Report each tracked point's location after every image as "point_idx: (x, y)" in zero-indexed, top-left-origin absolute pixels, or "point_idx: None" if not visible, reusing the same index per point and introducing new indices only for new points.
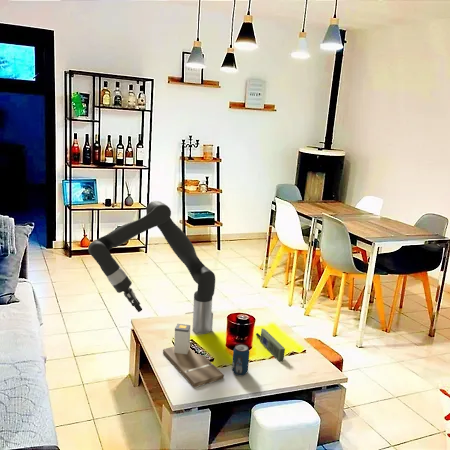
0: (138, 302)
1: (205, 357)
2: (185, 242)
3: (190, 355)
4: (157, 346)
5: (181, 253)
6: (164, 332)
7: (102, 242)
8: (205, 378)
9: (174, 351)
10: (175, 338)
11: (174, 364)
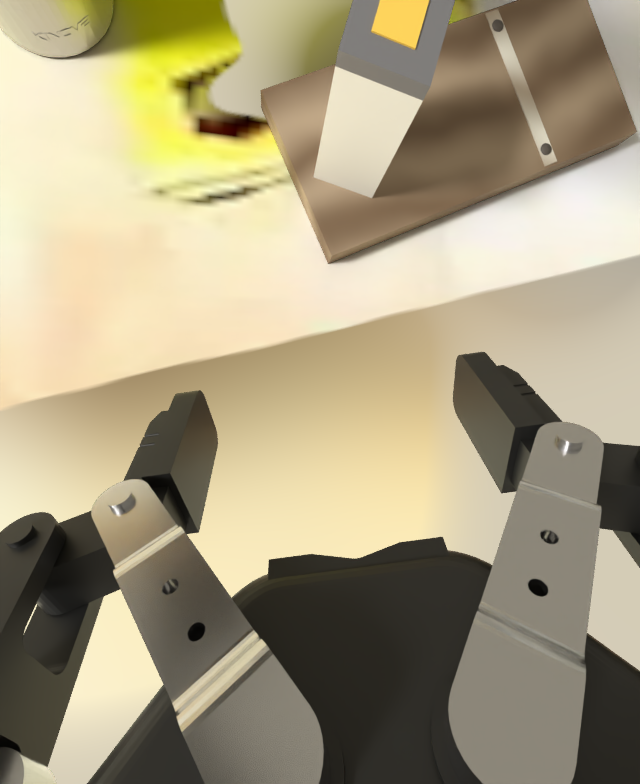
0: (197, 417)
1: None
2: None
3: None
4: (255, 290)
5: None
6: (82, 241)
7: None
8: (605, 74)
9: (374, 192)
10: (401, 137)
11: (451, 211)
